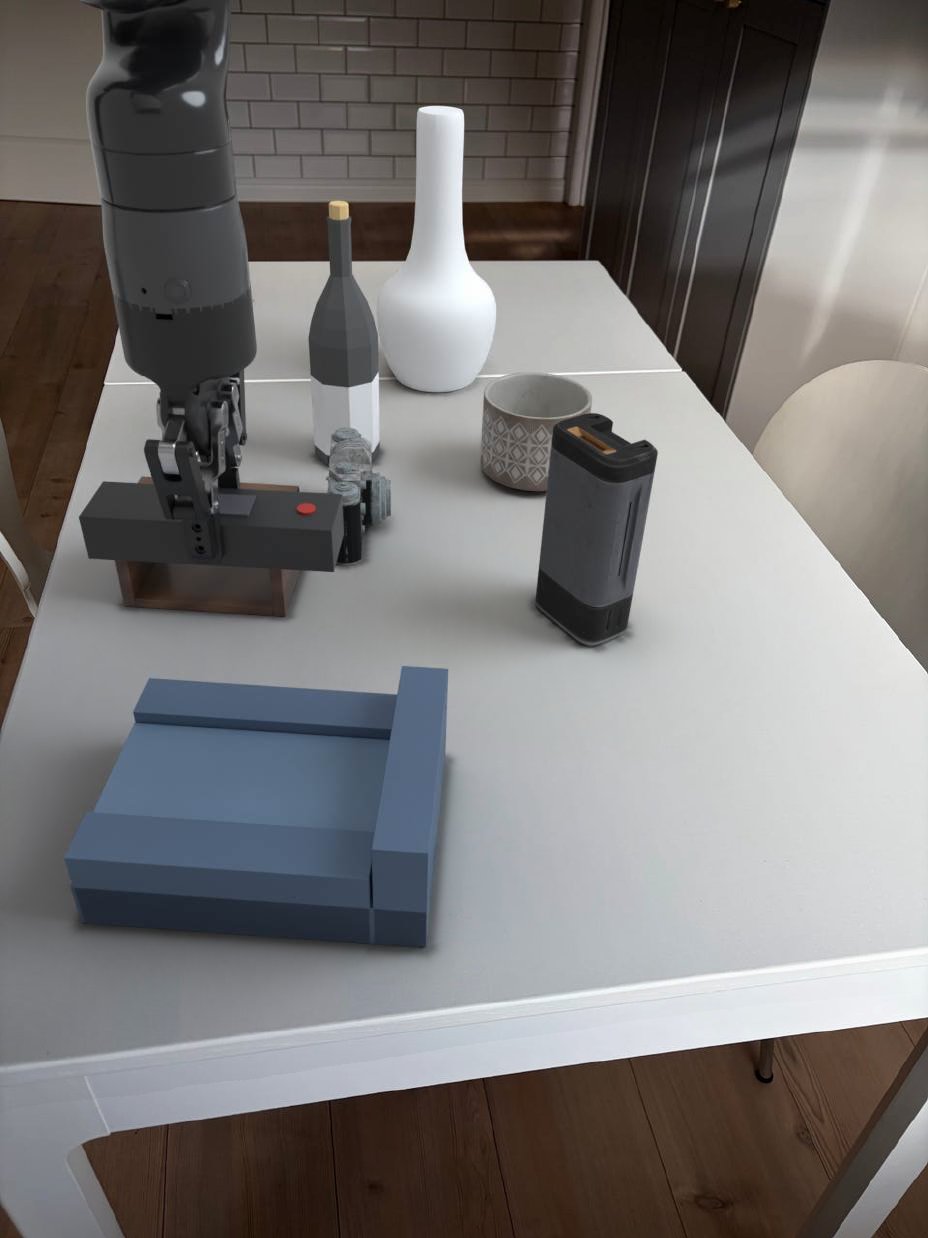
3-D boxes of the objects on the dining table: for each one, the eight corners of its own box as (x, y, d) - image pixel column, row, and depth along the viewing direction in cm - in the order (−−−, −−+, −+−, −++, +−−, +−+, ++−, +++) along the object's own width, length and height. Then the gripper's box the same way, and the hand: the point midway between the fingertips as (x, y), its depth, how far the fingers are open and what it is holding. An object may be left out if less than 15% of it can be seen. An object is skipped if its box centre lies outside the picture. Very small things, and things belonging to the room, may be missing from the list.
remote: (88, 559, 64) (77, 514, 62) (111, 521, 68) (102, 478, 66) (333, 572, 64) (331, 528, 62) (344, 534, 68) (342, 491, 66)
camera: (391, 565, 105) (391, 482, 99) (327, 565, 104) (322, 482, 98) (390, 494, 117) (389, 416, 110) (332, 494, 116) (328, 415, 110)
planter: (462, 482, 119) (466, 402, 113) (504, 440, 129) (509, 364, 122) (560, 509, 115) (569, 427, 109) (596, 463, 125) (606, 385, 118)
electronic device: (633, 632, 97) (667, 449, 85) (587, 652, 94) (614, 466, 82) (573, 585, 103) (596, 407, 91) (528, 602, 100) (545, 422, 88)
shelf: (124, 606, 97) (107, 528, 92) (155, 550, 105) (141, 476, 100) (285, 616, 97) (278, 539, 92) (304, 559, 105) (299, 485, 100)
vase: (500, 360, 149) (516, 102, 128) (482, 406, 136) (497, 128, 115) (392, 348, 151) (390, 92, 130) (364, 393, 138) (357, 117, 117)
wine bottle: (318, 471, 120) (303, 214, 102) (312, 440, 126) (297, 193, 108) (384, 467, 122) (381, 212, 103) (375, 437, 128) (371, 192, 110)
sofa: (81, 923, 69) (50, 827, 63) (159, 740, 83) (140, 648, 77) (426, 948, 68) (428, 853, 62) (445, 760, 82) (448, 668, 76)
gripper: (152, 237, 61) (189, 482, 71) (67, 322, 49) (126, 598, 60) (274, 243, 61) (293, 487, 71) (216, 330, 49) (249, 605, 60)
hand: (217, 537), depth 65 cm, fingers closed on remote, 4 cm apart
